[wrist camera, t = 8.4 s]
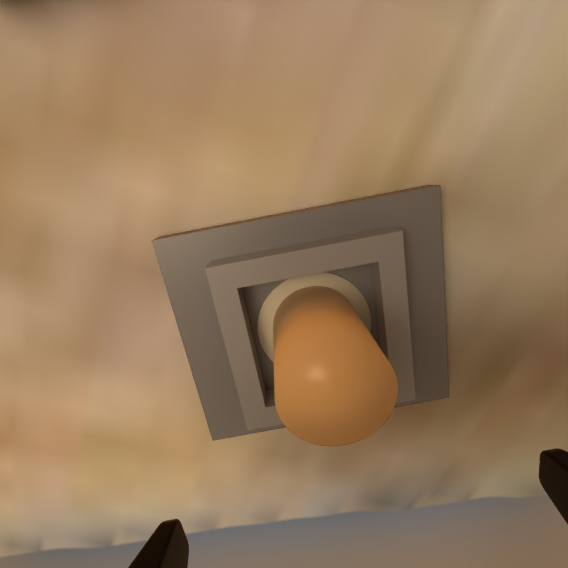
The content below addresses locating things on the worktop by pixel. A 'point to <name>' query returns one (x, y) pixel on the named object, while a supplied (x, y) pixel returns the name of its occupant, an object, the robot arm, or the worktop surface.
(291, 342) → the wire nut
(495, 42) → the worktop surface
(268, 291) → the plate
